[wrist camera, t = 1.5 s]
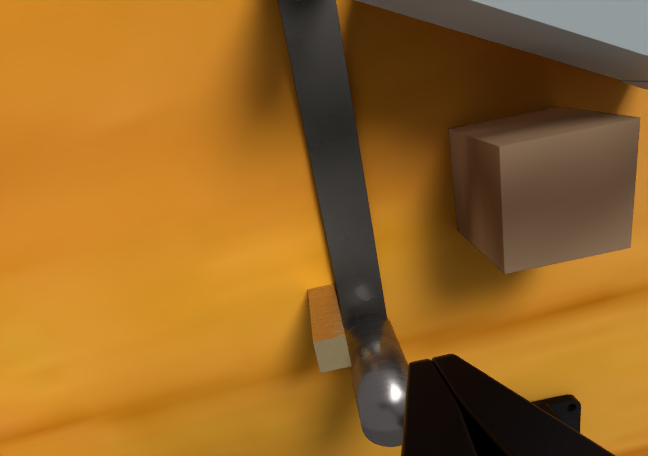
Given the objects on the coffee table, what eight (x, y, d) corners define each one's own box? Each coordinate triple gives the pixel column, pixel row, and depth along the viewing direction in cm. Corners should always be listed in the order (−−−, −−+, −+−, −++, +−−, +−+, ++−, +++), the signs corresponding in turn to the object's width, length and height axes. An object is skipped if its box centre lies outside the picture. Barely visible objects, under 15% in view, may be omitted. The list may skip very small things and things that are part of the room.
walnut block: (554, 208, 19) (630, 247, 15) (456, 229, 19) (504, 274, 15) (554, 106, 17) (640, 117, 13) (447, 128, 17) (499, 146, 13)
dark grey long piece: (225, -64, 14) (191, -140, 9) (326, -84, 14) (349, -171, 9) (324, 362, 21) (337, 458, 16) (395, 347, 21) (431, 438, 16)
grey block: (351, 1, 15) (379, -30, 10) (364, -51, 14) (399, -107, 10) (646, 89, 17) (776, 95, 12) (666, 46, 16) (809, 36, 12)
